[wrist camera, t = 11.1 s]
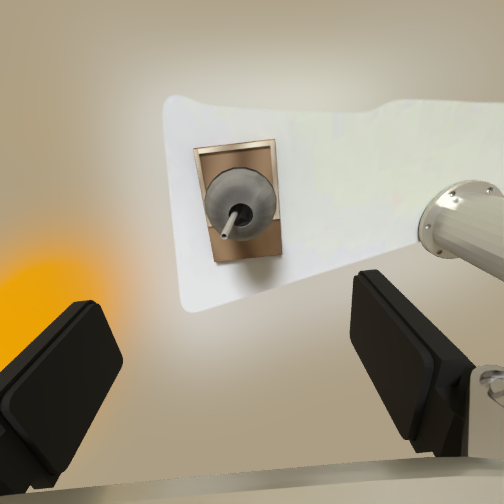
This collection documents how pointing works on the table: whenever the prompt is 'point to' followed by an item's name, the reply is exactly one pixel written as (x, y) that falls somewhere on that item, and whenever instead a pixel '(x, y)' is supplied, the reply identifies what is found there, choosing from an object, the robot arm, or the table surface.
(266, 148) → the walnut board
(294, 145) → the table surface
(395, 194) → the table surface
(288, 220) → the table surface
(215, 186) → the beverage cup
